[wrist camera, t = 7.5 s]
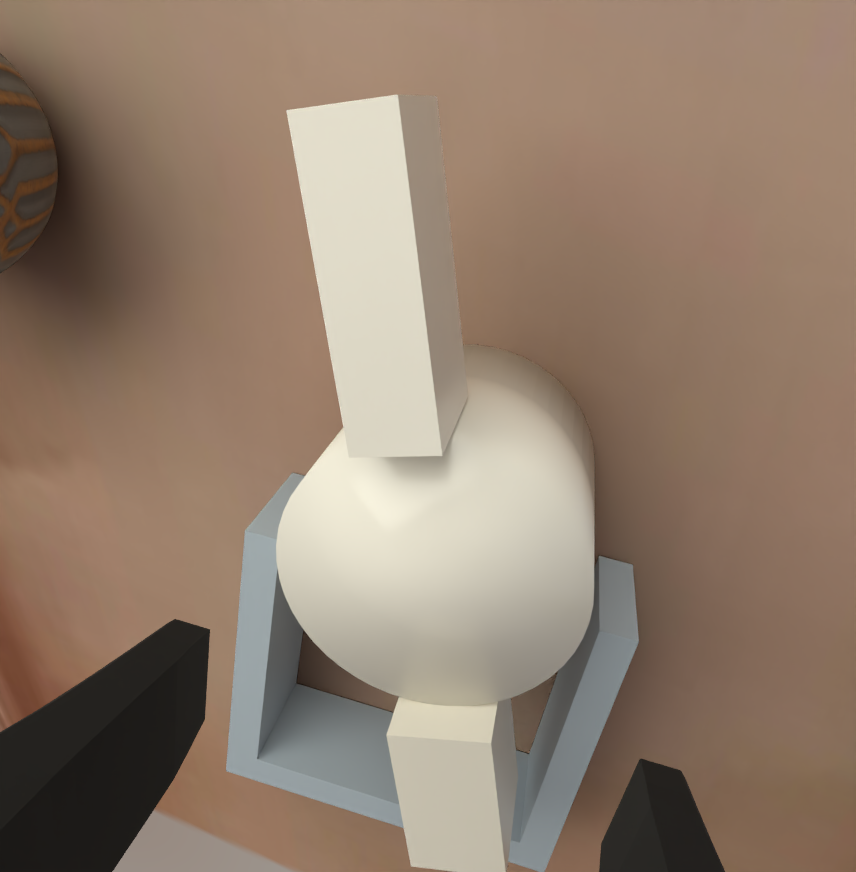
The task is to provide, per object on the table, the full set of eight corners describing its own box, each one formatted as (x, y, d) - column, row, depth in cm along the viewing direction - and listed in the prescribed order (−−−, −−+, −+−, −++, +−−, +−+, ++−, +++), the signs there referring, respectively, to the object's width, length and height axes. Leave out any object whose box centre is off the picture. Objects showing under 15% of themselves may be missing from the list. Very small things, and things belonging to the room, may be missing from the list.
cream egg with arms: (296, 120, 18) (140, 131, 12) (583, 81, 16) (575, 69, 10) (392, 667, 25) (325, 855, 19) (601, 679, 23) (603, 889, 17)
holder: (632, 564, 21) (638, 641, 18) (549, 781, 26) (544, 873, 23) (292, 472, 22) (244, 530, 19) (267, 695, 27) (226, 771, 24)
